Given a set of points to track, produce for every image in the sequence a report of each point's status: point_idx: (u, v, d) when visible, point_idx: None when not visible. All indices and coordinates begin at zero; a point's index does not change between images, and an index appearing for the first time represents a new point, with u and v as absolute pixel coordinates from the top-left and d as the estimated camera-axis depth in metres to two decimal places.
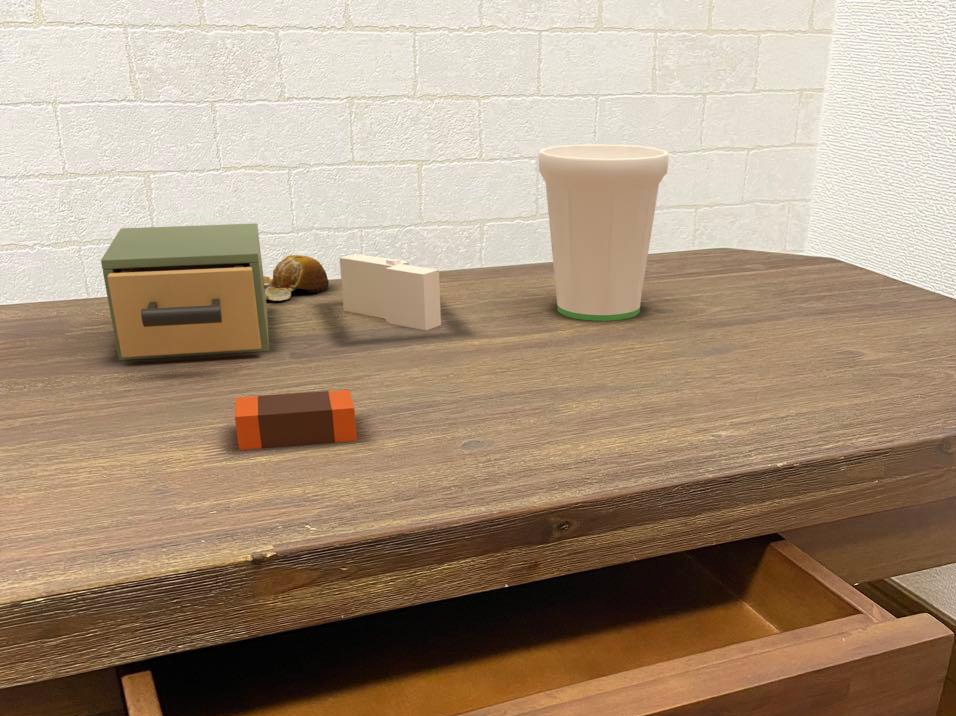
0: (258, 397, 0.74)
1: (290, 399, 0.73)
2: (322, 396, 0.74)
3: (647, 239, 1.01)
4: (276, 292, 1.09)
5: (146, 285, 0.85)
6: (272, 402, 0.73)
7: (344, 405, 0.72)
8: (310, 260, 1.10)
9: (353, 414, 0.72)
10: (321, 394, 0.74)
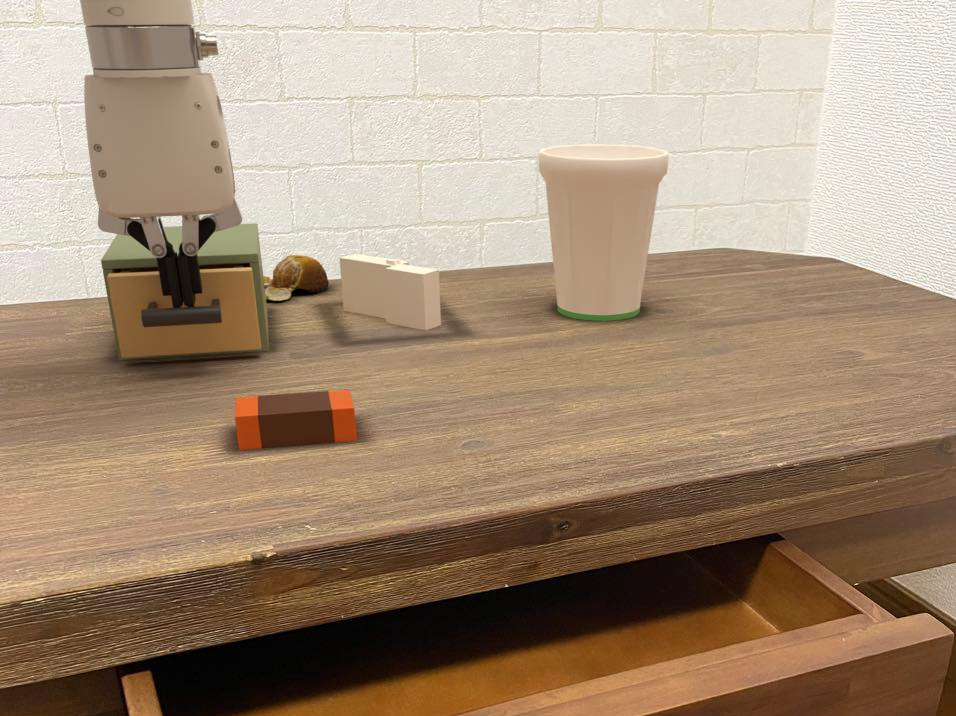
0: (258, 397, 0.74)
1: (290, 399, 0.73)
2: (322, 396, 0.74)
3: (647, 239, 1.01)
4: (276, 292, 1.09)
5: (146, 286, 0.85)
6: (272, 402, 0.73)
7: (344, 405, 0.72)
8: (310, 260, 1.10)
9: (353, 414, 0.72)
10: (321, 394, 0.74)
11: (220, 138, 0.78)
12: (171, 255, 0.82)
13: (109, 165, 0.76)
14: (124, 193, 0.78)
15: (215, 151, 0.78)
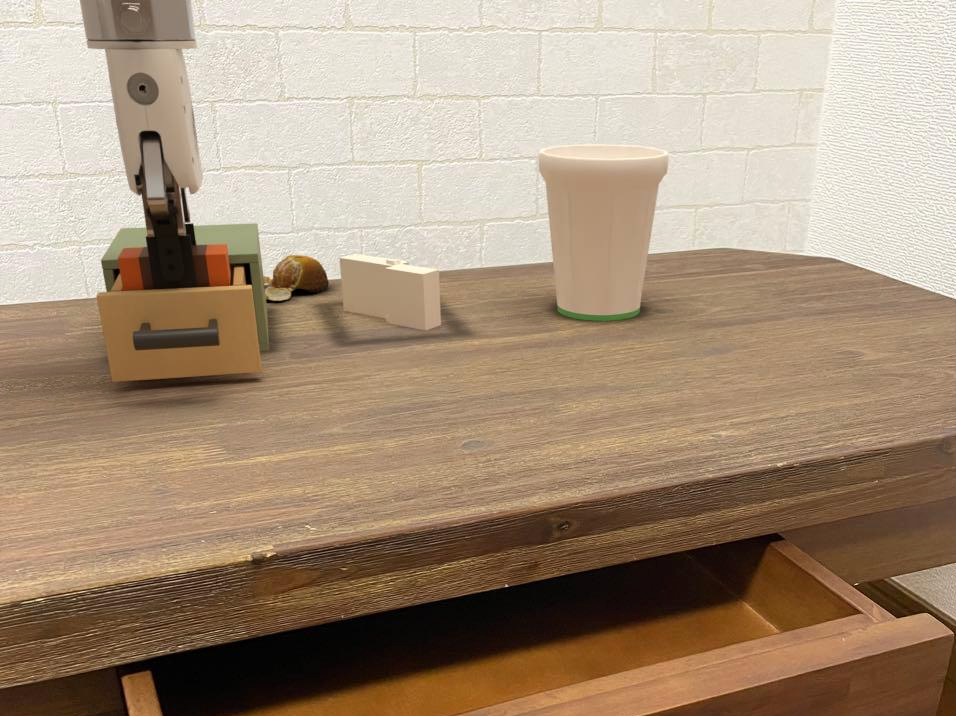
0: (143, 247, 0.83)
1: None
2: (200, 247, 0.83)
3: (647, 239, 1.01)
4: (276, 293, 1.09)
5: (138, 305, 0.79)
6: None
7: (217, 252, 0.82)
8: (310, 260, 1.10)
9: (225, 260, 0.81)
10: (200, 246, 0.84)
11: (118, 117, 0.73)
12: None
13: None
14: None
15: (118, 130, 0.74)
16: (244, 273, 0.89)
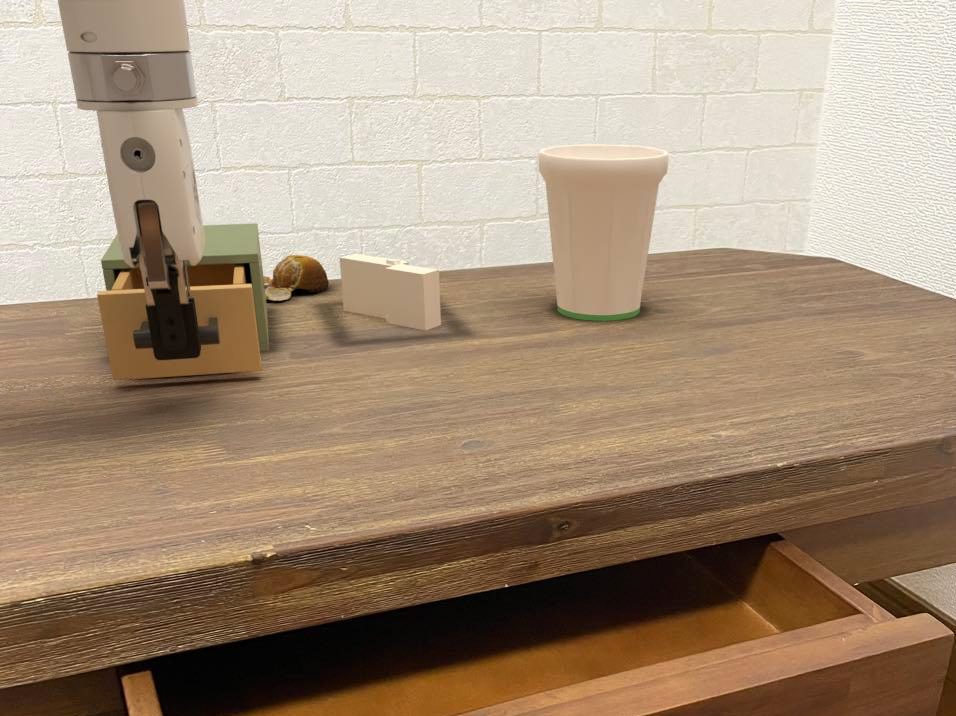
0: None
1: None
2: None
3: (647, 239, 1.01)
4: (276, 292, 1.09)
5: (138, 304, 0.80)
6: None
7: None
8: (310, 260, 1.10)
9: None
10: None
11: (110, 185, 0.66)
12: None
13: None
14: None
15: (111, 199, 0.67)
16: (244, 272, 0.89)
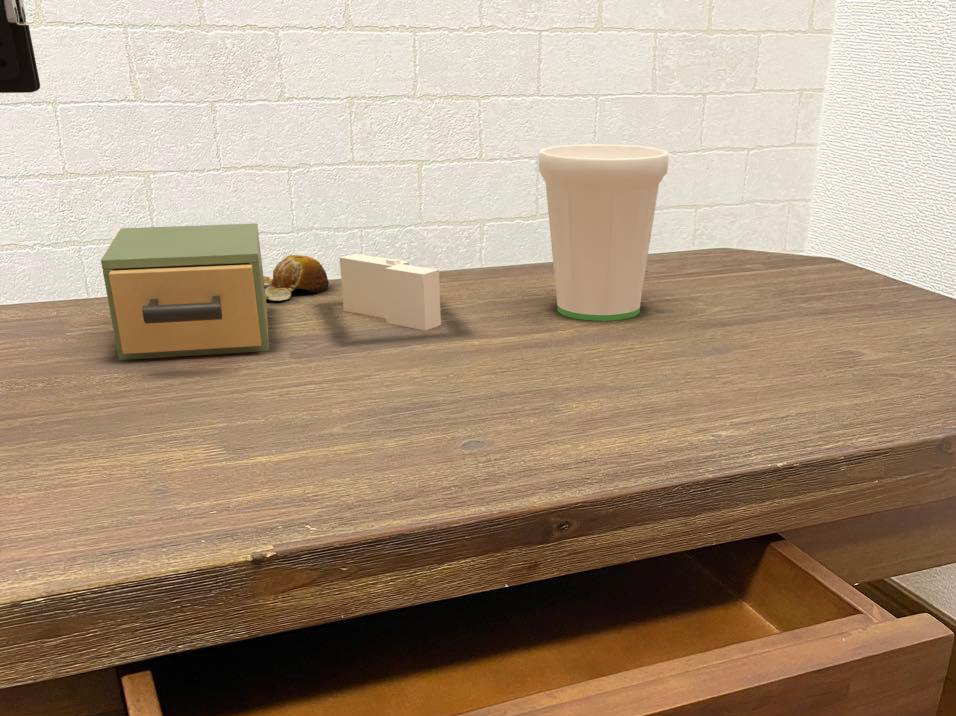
0: None
1: None
2: None
3: (647, 239, 1.01)
4: (276, 292, 1.09)
5: (147, 283, 0.86)
6: None
7: None
8: (310, 260, 1.10)
9: None
10: None
11: None
12: None
13: None
14: None
15: None
16: None
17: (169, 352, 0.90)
